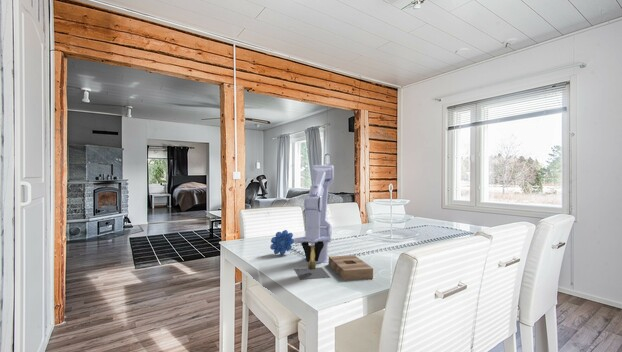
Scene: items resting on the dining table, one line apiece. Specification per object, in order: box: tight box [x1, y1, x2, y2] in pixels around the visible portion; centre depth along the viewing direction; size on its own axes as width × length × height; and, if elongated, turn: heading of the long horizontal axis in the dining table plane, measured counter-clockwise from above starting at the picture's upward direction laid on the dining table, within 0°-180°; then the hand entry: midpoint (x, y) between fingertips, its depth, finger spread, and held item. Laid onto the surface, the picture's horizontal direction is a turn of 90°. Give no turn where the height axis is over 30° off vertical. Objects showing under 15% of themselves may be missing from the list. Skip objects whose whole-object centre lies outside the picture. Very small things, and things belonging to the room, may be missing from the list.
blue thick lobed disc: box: [270, 229, 295, 256], centre depth 141 cm, size 12×7×12 cm, turn 100°
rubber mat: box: [293, 266, 331, 281], centre depth 114 cm, size 12×12×1 cm
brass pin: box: [307, 244, 317, 270], centre depth 114 cm, size 3×3×9 cm
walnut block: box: [328, 254, 374, 281], centre depth 118 cm, size 18×12×4 cm, turn 15°
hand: (311, 260), depth 114 cm, fingers closed on brass pin, 3 cm apart
